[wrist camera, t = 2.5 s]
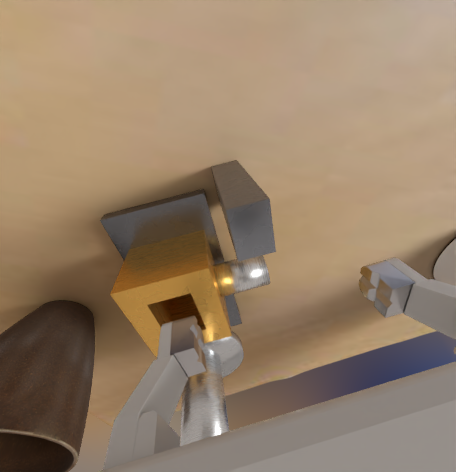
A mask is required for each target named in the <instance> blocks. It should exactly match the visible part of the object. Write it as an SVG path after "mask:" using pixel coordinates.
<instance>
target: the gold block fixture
mask: <svg viewBox="0 0 456 472" xmlns="http://www.w3.org/2000/svg"><path fill="white" fill-rule="evenodd" d="M100 221H101V223H102V225H103V226H104V228H105V230H106V231H107V233H108V234H109V236H110V238H111V239H112V241H113V243H114V244H115V246H116V248H117V249H118V251H119V253H120V254H121V256H122V258H123V259H124V263H123V265H122V267H121V270H120V272H119V275H118V277H117V279H116V282H115V284H114V286H113V289H112V291H111V294H110V295H111V296H112V298H113V299H114V301H115V302H116V303H117V305H118V306H119V307H120V309H121V310H122V311H123V313H124V314H125V316H126V317H127V318H128V320H129V321H130V322H131V324H132V325H133V327H134V328H135V329H136V331H137V332H138V333H139V335H140V336H141V338H142V339H143V340H144V342H145V343H146V344H147V346H148V347H149V349H150V350H151V351H152V353H153V354H154V355H155V357H157V355H158V347H159V338H160V330H161V326H162V324H165V323H169V322H173V321H176V320H180V319H184V318H187V317H191V316H195V317H196V319H197V325H198V326H200V328H201V330H202V333H203V338H204V346H205V347H204V349H203V352H204V354H205V359H206V371H205V372H202V373H199V374H196V375H193V376H190V377H188V380H187V382H186V385H185V387H184V390H183V392H182V413H181V446H183V445H186V444H189V443H193V442H196V441H199V440H202V439H206V438H209V437H212V436H215V435H219V434H222V433H225V432H228V431H229V427H228V418H227V410H226V402H225V393H224V385H223V377H225V376H227V375H229V374H230V373H232V372H233V371H234V370H235V369H237V368H238V366H239V365H240V364H241V362H242V360H243V356H244V353H243V348H242V343H241V340H240V338H239V337H238V335H236V334H235V333H234V332H233V331H231V328H230V327H231V326H234V325H238V324H242V322H241V318H240V314H239V311H238V307H237V304H236V300H235V297H234V294H235V293H239V292H243V291H246V290H250V289H254V288H258V287H261V286H265V285H269V284H270V278H269V273H268V269H267V266H266V263H265V260H264V258H263V255H261V256H258V257H254V258H250V259H246V260H243V261H239V262H238V259H234V260H230V261H227V262H224V259H223V255H222V252H221V248H220V245H219V241H218V238H217V234H216V231H215V227H214V224H213V220H212V217H211V213H210V210H209V206H208V203H207V199H206V196H205V193H204V189H201V190H197V191H194V192H190V193H186V194H182V195H178V196H174V197H171V198H167V199H163V200H159V201H155V202H152V203H148V204H144V205H140V206H136V207H132V208H129V209H125V210H121V211H117V212H113V213H109V214H106V215H104V216H103V217H102V219H101V220H100Z"/></svg>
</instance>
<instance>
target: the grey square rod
mask: <svg viewBox="0 0 456 472" xmlns="http://www.w3.org/2000/svg"><path fill="white" fill-rule="evenodd" d="M211 169H212V173H213V177H214V181H215V185H216V189H217V193H218V197H219V201H220V204H221V207H222V211H223V214H224V217H225V220H226V223H227V227H228V230H229V233H230V236H231V240H232V243H233V246H234V249H235V252H236V256H237V259H238V262H239V261H243V260H246V259H250V258H254V257H258V256H261V255H265V254H269V253H273V252H276V249H275V241H274V233H273V224H272V216H271V208H270V199H269V198H268V196H267V195H266V194H265V193H264V192H263V191H262V189H261V188H260V187H259V186H258V185H257V183H256V182H255V181H254V180H253V179H252V178H251V176H250V175H249V174H248V173H247V172H246V171H245V169H244V168H243V167H242V166H241V165H240V164H239V162H238V161H237V160H235V161H231V162H228V163H224V164H220V165H216V166H212V167H211Z"/></svg>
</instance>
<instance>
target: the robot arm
mask: <svg viewBox="0 0 456 472" xmlns="http://www.w3.org/2000/svg"><path fill="white" fill-rule="evenodd" d="M360 273H361V274H362V275H363V276H362V277H361V278H360V280H359V287H360V290H361V292H362V293H363V295H364V296H365V297H366V298H367V299H369V300H371V301H374V306H375V307H376V308H377V309H378V311H379V312H380V313H381V314H382V315H383V316H384V317H385V318H386V317H390V316H394V315H397V314H401V313H404V314H405V315H407V316H409V317H411V318H413V319H415V320H417V321H419V322H421V323H423V324H425V325H427V326H429V327H431V328H433V329H435V330H437V331H439V332H441V333H443V334H445V335H447V336H449V337H451V338H453V339H455V340H456V239H455V240H454V241H452V242H451V243H450V244H449V245H448V246H447V248H446V249H445V250H444V251H443V252H442V254H441V255H440V257H439V258H438V260H437V262H436V264H435V267H434V271H433V275H434V278H435V280H434V279H429V280H428V279H426V278H425V277H423V276H422V275H421V274H419V273H418V272H416V271H415V270H413V269H412V268H411V267H409V266H408V265H406V264H405V263H403V262H402V261H401V260H399V259H397V258H390V259H387V260H384V261H380V262H376V263H373V264H370V265H366V266H363V267H362V268H361V272H360ZM204 347H205V346H204V338H203V333H202V330H201V328H200V326H198V325H197V319H196V317H195V316H191V317H187V318H184V319H180V320H176V321H173V322H169V323H165V324H162V326H161V330H160V338H159V347H158V355H157V360H154V361H153V362H152V364H151V365H150V367H149V368H148V370H147V372H146V373H145V375H144V376H143V378H142V379H141V381H140V382H139V384H138V385H137V387H136V388H135V390H134V391H133V393H132V394H131V396H130V398H129V399H128V401H127V402H126V404H125V405H124V407H123V408H122V410H121V411H120V413H119V414H118V416H117V417H116V419H115V420H114V424H113V429H112V433H111V437H110V441H109V446H108V450H107V454H106V459H105V463H104V467H103V470H102V471H98V472H456V362H453V363H450V364H446V365H443V366H440V367H437V368H433V369H430V370H427V371H423V372H420V373H417V374H414V375H411V376H407V377H404V378H401V379H397V380H394V381H391V382H388V383H385V384H381V385H378V386H375V387H372V388H368V389H365V390H362V391H358V392H355V393H352V394H349V395H345V396H342V397H339V398H336V399H332V400H329V401H326V402H323V403H319V404H316V405H313V406H309V407H306V408H303V409H300V410H297V411H294V412H290V413H287V414H283V415H280V416H277V417H274V418H270V419H268V420H264V421H261V422H258V423H254V424H251V425H248V426H245V427H242V428H238V429H235V430H232V431H228V432H225V433H222V434H219V435H215V436H212V437H209V438H206V439H202V440H199V441H196V442H193V443H189V444H186V445H183V446H180V437H179V435H178V434H177V433H176V432H175V431H174V430H173V429H172V428H171V427H170V426H169V423H170V420H171V418H172V416H173V414H174V411H175V409H176V406H177V404H178V402H179V399H180V397H181V394H182V392H183V390H184V387H185V385H186V382H187V380H188V377H190V376H193V375H196V374H199V373H202V372H205V371H206V359H205V354H204V352H203V349H204ZM454 353H455V354H456V347H455V348H454Z"/></svg>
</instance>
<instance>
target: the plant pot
mask: <svg viewBox="0 0 456 472" xmlns="http://www.w3.org/2000/svg"><path fill="white" fill-rule="evenodd" d="M94 352H95V328H94V317H93V314H92V313H91V312H90V311H89V310H88V309H87V308H86V307H84V306H82V305H80V304H78V303H75V302H70V301H52V302H49V303H46V304H44V305H42V306H41V307H39V308H38V309H36V310H35V311H33V312H32V313H30V314H29V315H27V316H26V317H24V318H23V319H21V320H20V321H18V322H17V323H16V324H14V325H13V326H11V327H10V328H9V329H7V330H6V331H5V332H3V333H2V334H1V335H0V472H68V471H70V470H71V469H72V468H73V467H74V466H75V465H76V463H77V461H78V456H79V452H80V447H81V443H82V438H83V433H84V428H85V423H86V418H87V412H88V407H89V400H90V393H91V386H92V377H93V367H94Z"/></svg>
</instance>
